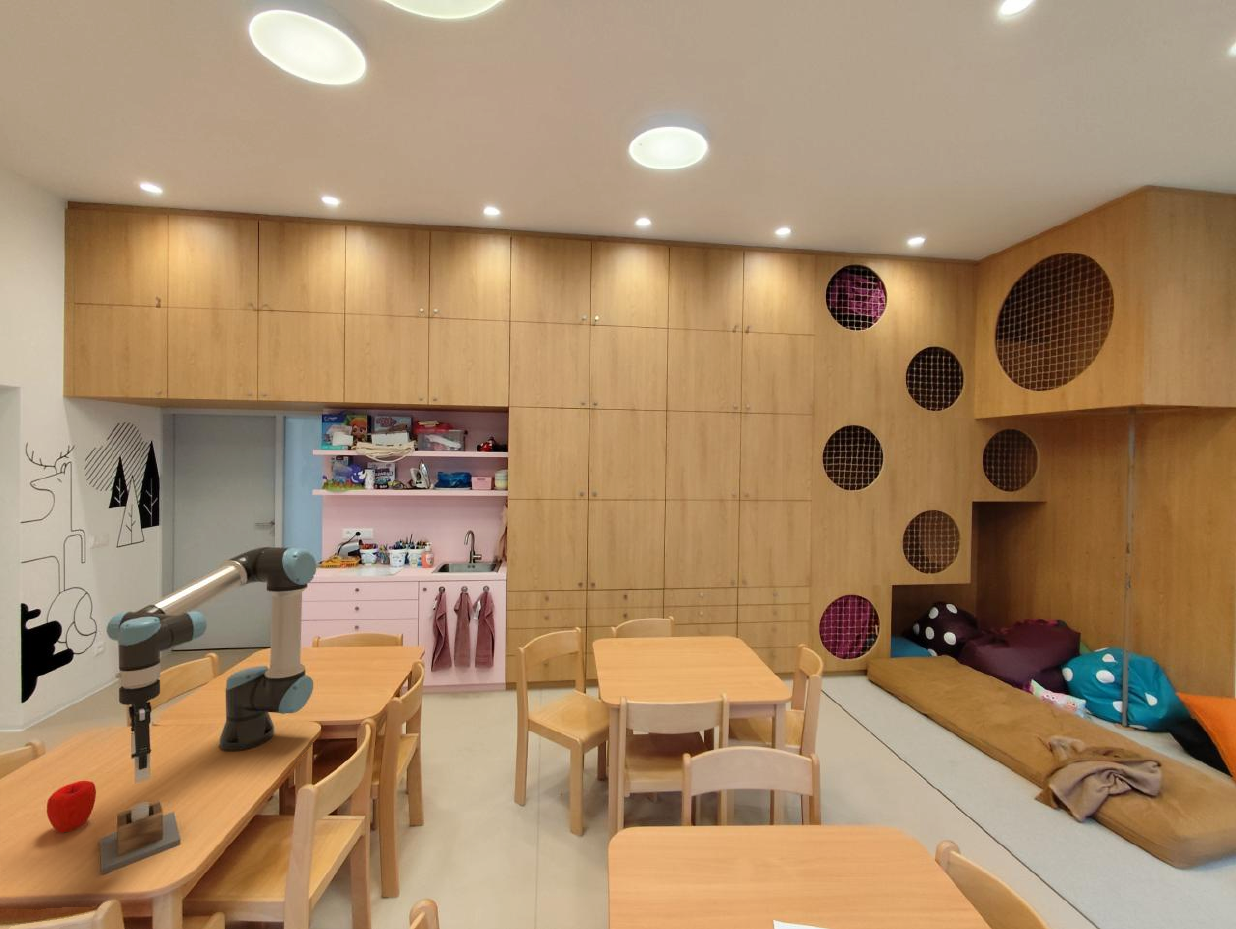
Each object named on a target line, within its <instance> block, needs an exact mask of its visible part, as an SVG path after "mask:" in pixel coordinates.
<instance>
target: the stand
mask: <svg viewBox="0 0 1236 929" xmlns="http://www.w3.org/2000/svg"><path fill="white" fill-rule="evenodd" d="M149 803H150V802H148V801H143V802H140V803H139V802H138V803H137V804H135V805H133V806H132V807H131V808H130V809H131V823H132V822H135V821H137V820H140V819H143V818H146V817H149ZM99 844H100V845H99V848H100V850H99V851H100V875H101V876H102V875H104V874H107V873H110V872H112V871H114V870H118V869H120V868H123V867H124V866H125V867H126V866H128V865H129V864H132V863H135V862H137V861H140V860H143V859H145V858H148V857H150V856H152V855H153V856H154V855H155V854H158V853H160V852H162V851H165V850H168V849H171V848H173V847H176V846H178V845H181V835H180V832H179V827H178V824H177V818H176V816H175V812H174V811H172V812H169V813H166V814H163V839H161V840H158V841H156V842H153V843H150V844H148V845H145V846H143V847H140V848H137V849H135V850H132V851H129V852H127V853H124V854H122V855H119V856H118V845H117V831H116V832H113V833H109V834H107V835H104V836H101V837H99Z"/></svg>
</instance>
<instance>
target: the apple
mask: <svg viewBox="0 0 1236 929" xmlns="http://www.w3.org/2000/svg"><path fill="white" fill-rule="evenodd" d="M96 789H97V788H96V785H95V783H94V782H93V781H88V780H80V781H77V782H73V783H70V784H66V785H64V786H61V787H60V788H58V789H57V790H56V791H54V792H53V793H52V794H51V795H50V796H49V798H48V800H47V803H46V814H47V818H48V820H49V822H50V824H51V826H52V828H54V830H55V831H56V832H57V833H61V834H62V833H68V832H71V831H73V830H76V829H78V828H80V827H82V826H83V825H85V824H86V822H87V820H88V819H90V816H91V814H92V811H93V810H94V806H95V803H96V796H97V790H96Z"/></svg>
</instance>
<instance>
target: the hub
mask: <svg viewBox="0 0 1236 929" xmlns="http://www.w3.org/2000/svg"><path fill="white" fill-rule="evenodd" d="M148 803H149V817H146V818H143V819H140V820H137V821H135V822H132V823H131V809H132V808H130V809H128V810H125V811H122V812H119V813H117V814H116V832H117V845H118V856H119V855H122V854H124V853H127V852H129V851H132V850H135V849H137V848H140V847H143V846H145V845H148V844H150V843H153V842H156V841H158V840H161V839H163V815H164V814H163V808H162V805H161V800H160V799H157V800H155V801H154V800H153V801H151V802H148Z"/></svg>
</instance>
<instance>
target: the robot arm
mask: <svg viewBox="0 0 1236 929" xmlns="http://www.w3.org/2000/svg"><path fill="white" fill-rule="evenodd" d="M316 571H317V562H316V559H315V556H314V555H313V554H312V553H311V552H310V551H309V550H308V549H305V548H298V547H281V546H279V547H271V546H263V547H258V548H257V547H256V548H254V549H251V550H248V551H246V552H242V553H241V554H238V555H236V556H234V557H231V558H230V559H228V560H226V561H224V562H223V563H221V565H220V567H219V568H218V569H216V570H214V571H212V572H210V573H208V574H206V575H204V576H202V577H200V578H198V579H196V580H194V581H193V582H190V583H189V584H187V585H185V586H183V587H180V588H179V589H177V590H175V591H173V592H172V593H170V594H168V595H166V596H163V597H162V598H160V599H158V600H156V601H154V602H153V603H150V604H149V605H146V606H144V607H143V608H141V609H139V610H136V611H127V612H120V613H117V614H116V615H114V616H113V617H112V618H111V619H109V621H108V624H107V627H106V634H107V636H108V638H109V639H110V640H112V641H115V642H116V641H117V644H118V646H117V647H118V669H119V670H118V672H119V673H116V674H115V678H116V679H119V680H118V681H119V682H118V683H119V685H118V686H119V688H118V702H119V704H122V705H125V706H127V705H130V706H128V714H129V720H130V723H129V724H130V731H131V733H130V749H131V750H130V752H131V753H130V756H131V757H130V760H134V784H139V783H142V782H144V781H148V780H150V779H151V752H152V749H151V737H150V736H151V735H150V730H151V729H150V725H151V719H152V718H151V713H152V705H151V700H154V699H156V698H157V697H158V696H159V695H160V694H161V680H160V677H161V652H164V651H167V650H170V649H172V648H175V647H177V646H181V645H182V644H187V643H189V642H190V643H191V642H192V641H194V640H196V639H198V638H200V637H202V636H203V635H204V634H205V632H206V630H207V619H206V617H205V615H203V613H202V612H199V611H196V610H198V609H199V608H201V607H203V606H205V605H207V604H208V603H210V602H211V601H213V600H215V599H217V598H219V597H220V596H222V595H224V594H225V593H227V592H229V591H230V590H231V591H232V589H240V588H242V587H244V586H246V585H248V584H254V583H266V592H268V593H269V594H270V595H271V617H270V620H271V621H270V622H271V623H270V625H271V626H270V659H269V660H270V661H269V662H270V663H269V664H270V665H269V667H268V666H267V665H258V666H252V667H251V666H250V667H248V668H245V669H241V670H239V671H236V672H234V673H232V674H230V675H229V676H228V677H227V679H226V684H225V685H226V686H225V717H226V718H225V723H224V726H223V728H222V731H221V733H220V736H219V742H218V743H219V744H218V745H219V748H220V749H221V750H223V751H226V752H227V751H228V752H236V751H237V752H238V751H244V750H249V749H251V748H255V747H257V746H260V745H262V744H264V743H266V742H267V741H269V740H271V738H273V736H274V735H275V725H274V723H273V720H272V718H271V715H270V713H274V714H275V713H276V714H282V715H285V714H296V713H298V712H299V711H301V710H302V709H303V708H304V706H306V705H307V704H308V701H310V698H311V697H312V694H313V690H314V679H313V678H312V677H311V676H309V675H306V666H305V665H304V664H303V663H301V658H302V657H301V652H302V650H301V648H302V644H301V643H302V615H303V612H302V609H303V608H302V607H303V592H304V591H305V590H306V589H307V588H308V584H309V583H311V582H312V581H313V579H314V576H315V575H316V573H317V572H316Z"/></svg>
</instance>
